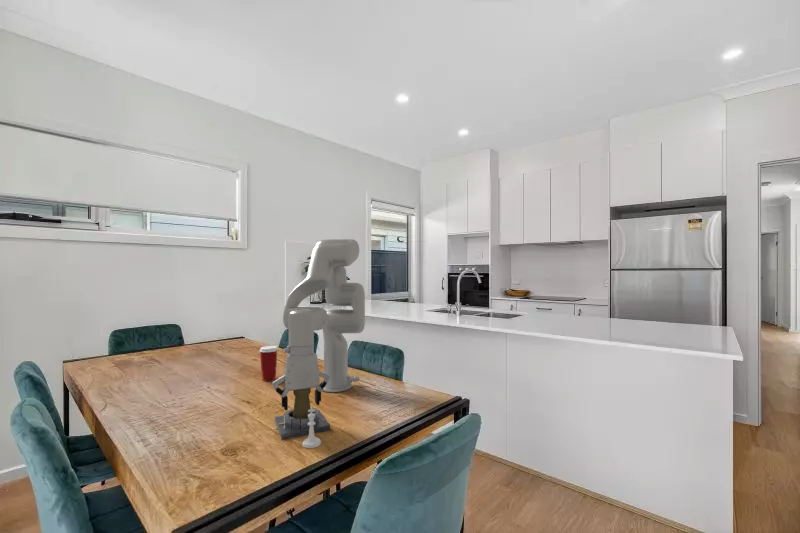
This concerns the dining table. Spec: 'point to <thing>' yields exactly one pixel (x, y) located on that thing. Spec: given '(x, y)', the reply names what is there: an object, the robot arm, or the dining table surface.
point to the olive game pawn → (301, 403)
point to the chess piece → (311, 433)
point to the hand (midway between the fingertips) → (301, 406)
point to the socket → (300, 424)
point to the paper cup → (268, 362)
